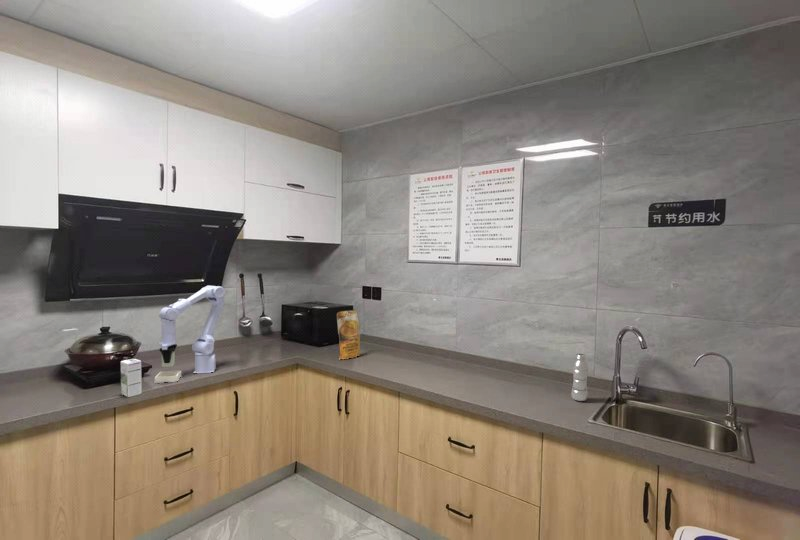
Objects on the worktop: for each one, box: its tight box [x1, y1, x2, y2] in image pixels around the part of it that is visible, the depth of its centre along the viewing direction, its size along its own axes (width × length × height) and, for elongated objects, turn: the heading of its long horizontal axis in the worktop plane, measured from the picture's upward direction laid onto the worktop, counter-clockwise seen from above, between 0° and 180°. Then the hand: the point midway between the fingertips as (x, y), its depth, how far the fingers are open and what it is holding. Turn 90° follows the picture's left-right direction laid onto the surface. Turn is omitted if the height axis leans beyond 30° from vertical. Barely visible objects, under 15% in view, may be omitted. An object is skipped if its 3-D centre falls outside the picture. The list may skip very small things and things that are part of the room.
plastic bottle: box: [570, 353, 589, 402], centre depth 175 cm, size 6×7×20 cm
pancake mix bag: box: [336, 309, 361, 361], centre depth 240 cm, size 7×19×28 cm, turn 139°
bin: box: [154, 370, 182, 384], centre depth 191 cm, size 9×9×3 cm
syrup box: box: [120, 358, 143, 398], centre depth 171 cm, size 6×6×14 cm
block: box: [161, 350, 176, 368], centre depth 191 cm, size 4×4×6 cm
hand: (168, 361), depth 191 cm, fingers closed on block, 4 cm apart
